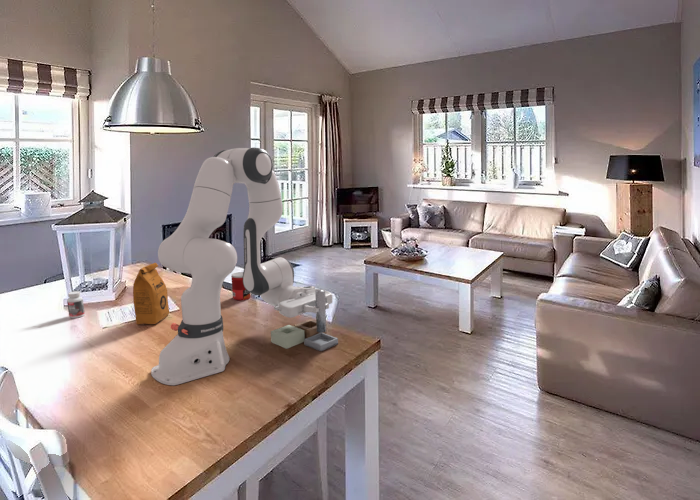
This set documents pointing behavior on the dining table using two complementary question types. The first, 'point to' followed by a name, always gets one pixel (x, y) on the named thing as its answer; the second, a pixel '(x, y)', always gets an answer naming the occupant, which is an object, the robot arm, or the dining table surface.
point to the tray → (321, 341)
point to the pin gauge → (320, 311)
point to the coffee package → (150, 296)
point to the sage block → (287, 336)
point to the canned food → (239, 287)
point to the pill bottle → (75, 305)
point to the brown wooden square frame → (308, 327)
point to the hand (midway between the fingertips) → (322, 308)
